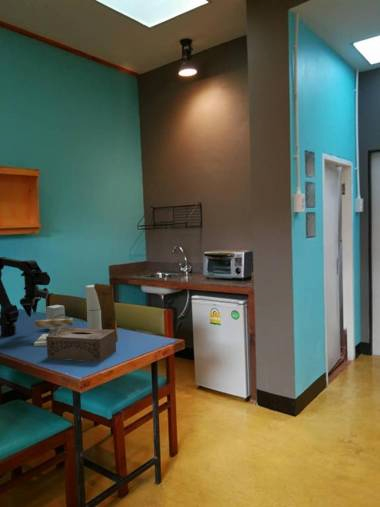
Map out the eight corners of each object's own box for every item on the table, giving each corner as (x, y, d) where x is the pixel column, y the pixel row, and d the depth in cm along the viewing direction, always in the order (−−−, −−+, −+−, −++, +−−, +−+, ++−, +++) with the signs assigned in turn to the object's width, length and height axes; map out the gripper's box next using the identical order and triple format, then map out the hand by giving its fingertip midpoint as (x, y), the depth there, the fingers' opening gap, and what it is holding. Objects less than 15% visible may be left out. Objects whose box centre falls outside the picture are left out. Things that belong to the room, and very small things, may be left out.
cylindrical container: (98, 334, 210) (95, 287, 208) (85, 333, 211) (83, 287, 209) (103, 330, 217) (101, 285, 215) (91, 330, 218) (89, 284, 216)
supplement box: (54, 330, 219) (53, 308, 218) (46, 328, 224) (45, 306, 223) (65, 327, 225) (64, 305, 224) (58, 325, 230) (56, 304, 229)
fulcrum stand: (34, 346, 191) (33, 330, 191) (43, 336, 207) (42, 322, 207) (68, 344, 193) (67, 329, 193) (74, 335, 209) (73, 321, 208)
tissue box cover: (47, 359, 173) (46, 336, 173) (65, 348, 187) (64, 327, 186) (101, 362, 167) (100, 339, 166) (116, 351, 181) (115, 330, 180)
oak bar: (73, 324, 202) (73, 318, 202) (72, 325, 199) (71, 319, 199) (36, 326, 200) (36, 320, 200) (35, 327, 197) (34, 321, 197)
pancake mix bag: (109, 344, 191) (106, 286, 189) (95, 335, 207) (92, 282, 205) (122, 341, 195) (119, 285, 193) (107, 333, 211) (105, 280, 209)
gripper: (41, 286, 197) (43, 317, 198) (51, 281, 216) (52, 309, 217) (18, 287, 196) (20, 319, 197) (29, 282, 215) (31, 310, 216)
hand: (32, 314), depth 207 cm, fingers open, 9 cm apart
